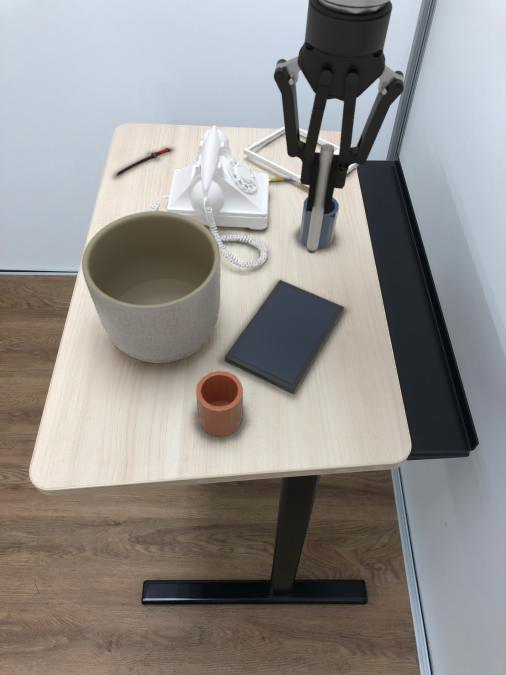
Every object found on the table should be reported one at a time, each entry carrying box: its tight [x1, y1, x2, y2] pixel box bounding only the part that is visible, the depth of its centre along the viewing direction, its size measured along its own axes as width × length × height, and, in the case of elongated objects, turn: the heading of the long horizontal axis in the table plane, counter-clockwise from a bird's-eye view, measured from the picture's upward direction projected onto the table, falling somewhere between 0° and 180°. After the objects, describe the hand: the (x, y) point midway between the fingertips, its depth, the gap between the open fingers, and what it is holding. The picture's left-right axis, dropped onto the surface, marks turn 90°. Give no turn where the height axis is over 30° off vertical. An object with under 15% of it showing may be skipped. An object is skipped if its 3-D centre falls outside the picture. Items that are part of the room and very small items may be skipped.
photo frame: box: [242, 125, 359, 189], centre depth 103 cm, size 15×1×18 cm
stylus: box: [306, 144, 335, 254], centre depth 67 cm, size 2×2×16 cm
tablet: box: [224, 279, 345, 395], centre depth 79 cm, size 11×17×1 cm, turn 151°
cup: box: [195, 370, 244, 438], centre depth 68 cm, size 6×6×7 cm
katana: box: [116, 147, 171, 176], centre depth 102 cm, size 13×2×1 cm, turn 136°
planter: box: [81, 210, 221, 364], centre depth 73 cm, size 17×17×15 cm
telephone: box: [149, 124, 270, 269], centre depth 88 cm, size 25×21×12 cm
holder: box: [299, 196, 340, 250], centre depth 89 cm, size 6×6×7 cm
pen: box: [269, 178, 294, 182], centre depth 100 cm, size 14×1×1 cm, turn 98°
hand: (318, 205), depth 67 cm, fingers closed on stylus, 1 cm apart
